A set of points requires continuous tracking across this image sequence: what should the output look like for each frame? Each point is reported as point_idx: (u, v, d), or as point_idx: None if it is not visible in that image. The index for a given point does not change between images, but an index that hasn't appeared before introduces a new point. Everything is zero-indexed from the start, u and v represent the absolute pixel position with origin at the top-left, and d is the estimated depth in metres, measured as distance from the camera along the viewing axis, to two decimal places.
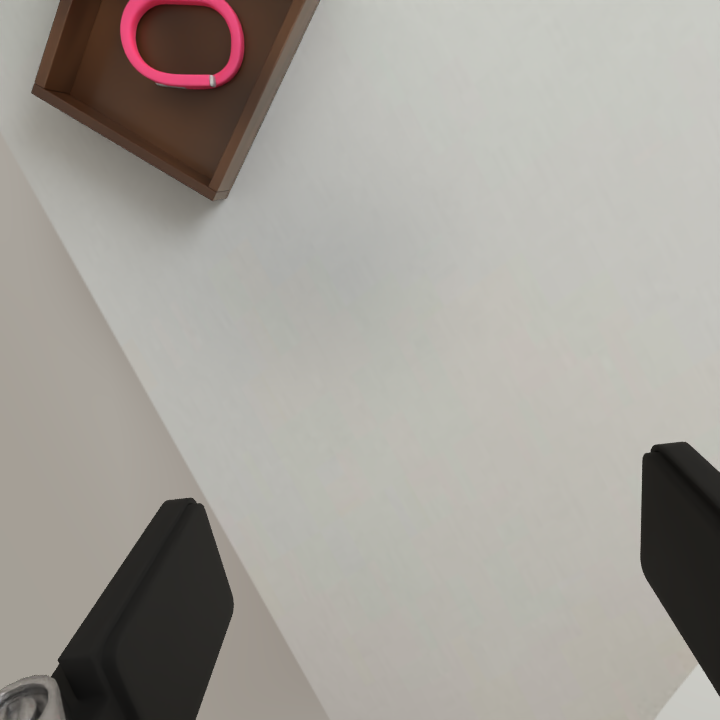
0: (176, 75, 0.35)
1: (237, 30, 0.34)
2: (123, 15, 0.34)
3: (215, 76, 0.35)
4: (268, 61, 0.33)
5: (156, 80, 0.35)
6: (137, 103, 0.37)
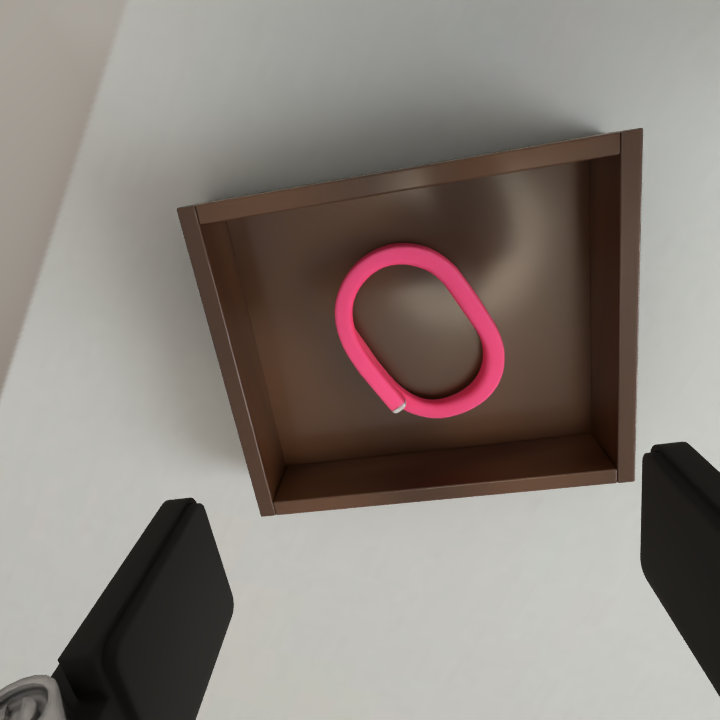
0: (370, 364, 0.22)
1: (480, 399, 0.22)
2: (387, 251, 0.20)
3: (406, 400, 0.23)
4: (477, 486, 0.22)
5: (343, 344, 0.21)
6: (293, 313, 0.23)
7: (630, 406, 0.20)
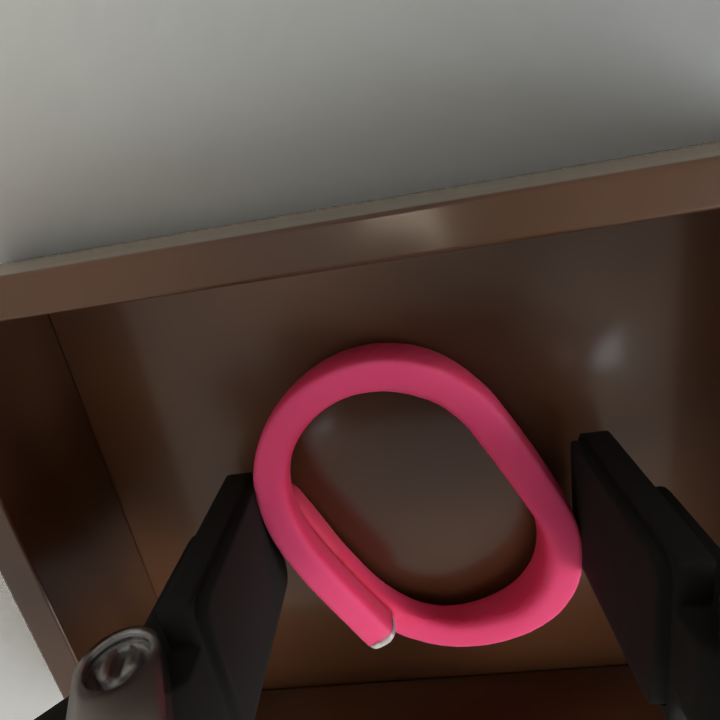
0: (325, 571, 0.11)
1: (533, 623, 0.12)
2: (354, 368, 0.10)
3: (396, 617, 0.13)
4: None
5: (272, 536, 0.11)
6: (186, 462, 0.12)
7: None
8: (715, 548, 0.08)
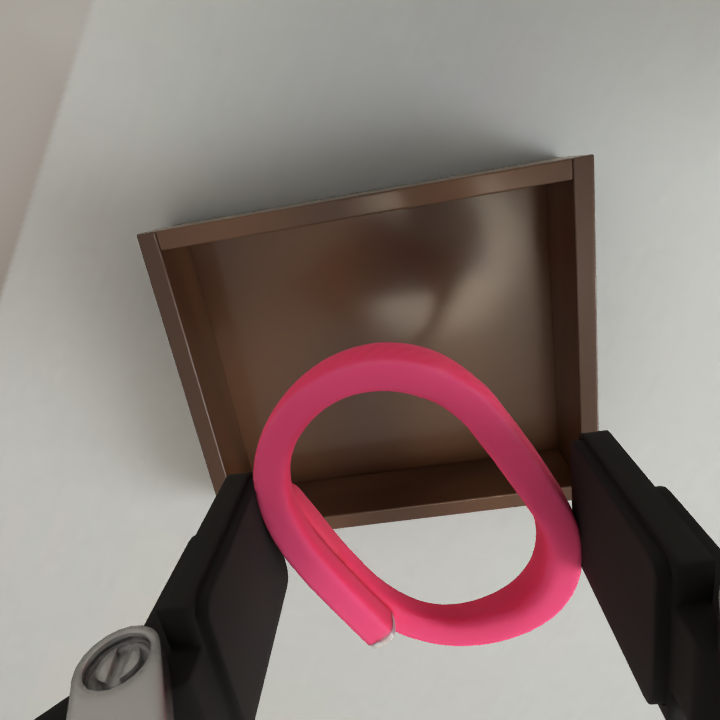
0: (325, 570, 0.11)
1: (533, 622, 0.12)
2: (354, 368, 0.10)
3: (395, 616, 0.13)
4: (446, 505, 0.22)
5: (272, 535, 0.11)
6: (259, 336, 0.23)
7: (592, 423, 0.20)
8: (715, 549, 0.08)
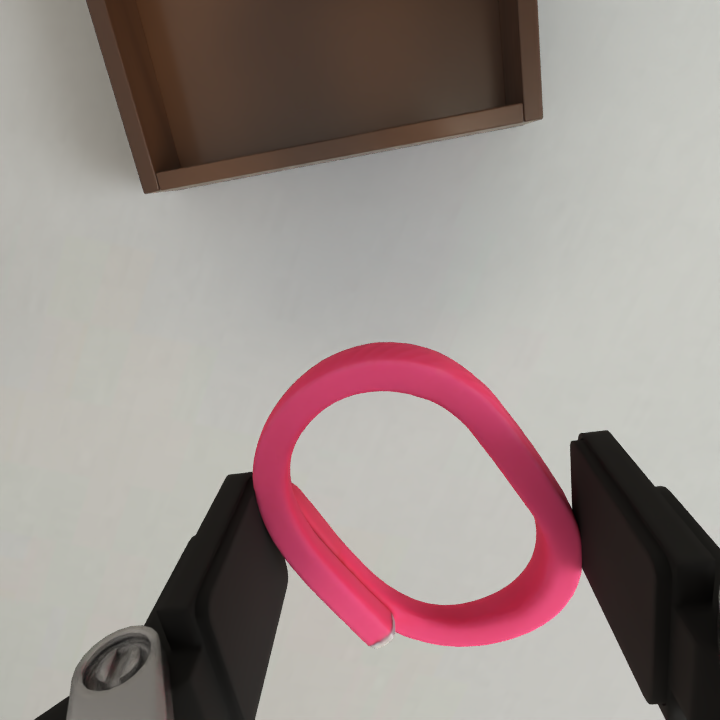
0: (325, 570, 0.11)
1: (533, 623, 0.12)
2: (354, 368, 0.10)
3: (395, 616, 0.13)
4: (374, 135, 0.20)
5: (272, 535, 0.11)
6: None
7: (531, 13, 0.18)
8: (714, 548, 0.08)
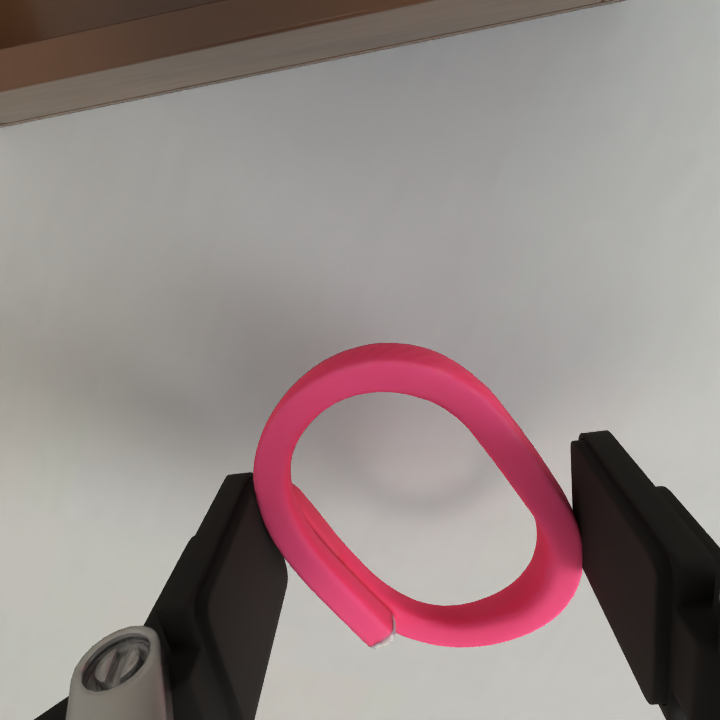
0: (326, 571, 0.11)
1: (534, 623, 0.12)
2: (354, 369, 0.10)
3: (396, 617, 0.13)
4: None
5: (272, 536, 0.11)
6: None
7: None
8: (715, 547, 0.08)
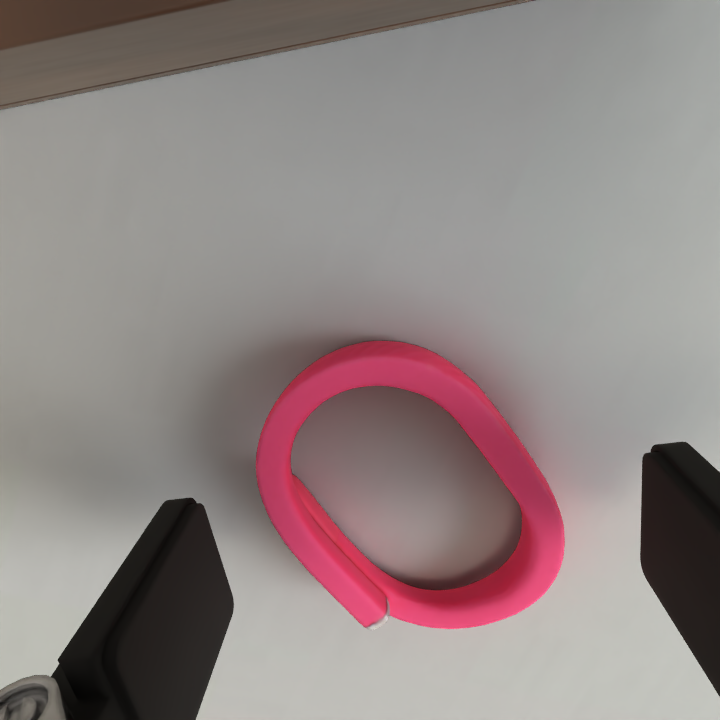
0: (324, 555, 0.12)
1: None
2: (350, 364, 0.11)
3: (390, 600, 0.13)
4: None
5: (274, 522, 0.12)
6: None
7: None
8: None
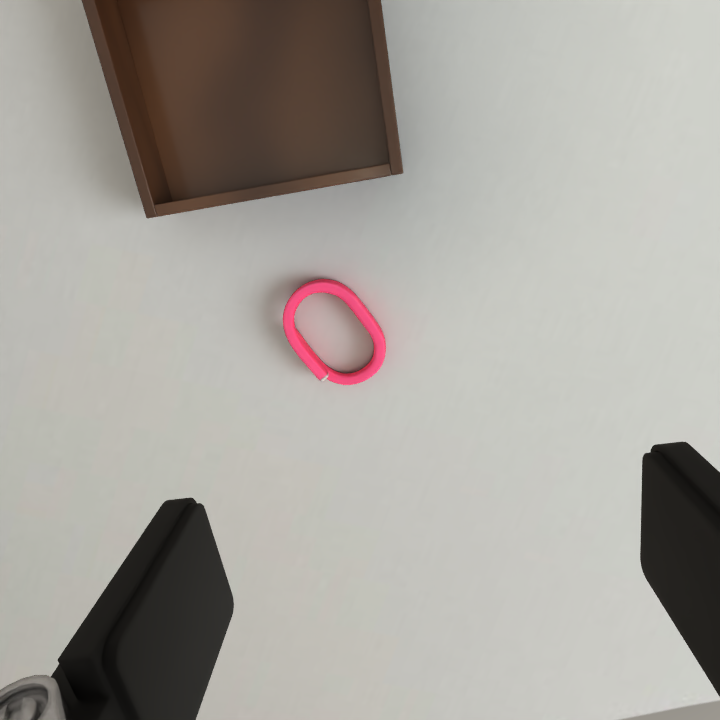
0: (305, 351, 0.36)
1: (373, 372, 0.37)
2: (312, 284, 0.35)
3: (329, 373, 0.37)
4: (296, 183, 0.31)
5: (288, 339, 0.36)
6: (167, 69, 0.32)
7: (390, 109, 0.29)
8: None
